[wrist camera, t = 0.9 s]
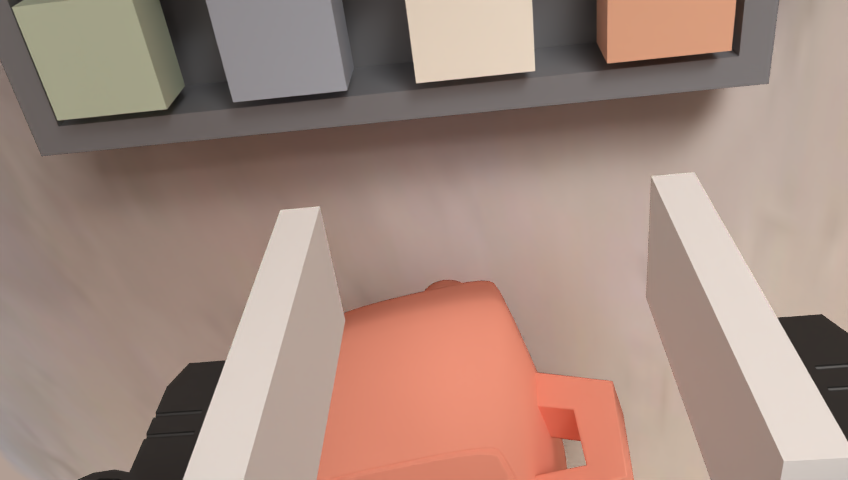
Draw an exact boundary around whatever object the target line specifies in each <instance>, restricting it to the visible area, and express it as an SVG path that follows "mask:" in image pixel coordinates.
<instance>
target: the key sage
mask: <svg viewBox="0 0 848 480" xmlns="http://www.w3.org/2000/svg"><path fill="white" fill-rule="evenodd" d="M12 9H13V12H14V14H15V17H16V19H17V22H18V24H19V27H20V29H21V31H22V34H23V36H24V39H25V41H26V44H27V46H28V49H29V51H30V54H31V56H32V59H33V61H34V64H35V66H36V69H37V71H38V73H39V76H40V78H41V81H42V83H43V86H44V88H45V91H46V93H47V96H48V98H49V101H50V103H51V106H52V108H53V110H54V113H55V115H56V118H57V120H58V121H59V120H68V119H78V118H87V117H97V116H107V115H116V114H126V113H136V112H145V111H155V110H164V109H168V107H169V106H170V105H171V103H172V102H173V101H174V100H175V98H176V97H177V96H178V94H179V93H180V92H181V90H182V89H183V88H184V87H185V84H184V80H183V77H182V74H181V70H180V67H179V64H178V60H177V57H176V54H175V51H174V47H173V44H172V41H171V37H170V34H169V31H168V27H167V24H166V21H165V17H164V14H163V11H162V7H161V4H160V1H159V0H23V1H21V2H19V3H18V4H16V5H15V6H13V7H12Z"/></svg>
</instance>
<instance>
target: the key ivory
mask: <svg viewBox="0 0 848 480" xmlns="http://www.w3.org/2000/svg"><path fill="white" fill-rule="evenodd" d="M405 3H406V10H407V18H408V25H409V33H410V41H411V48H412V56H413V63H414V71H415V79H416V83H425V82H434V81H444V80H453V79H463V78H473V77H482V76H492V75H502V74H511V73H521V72H531V71H535V55H534V32H533V9H532V0H405Z"/></svg>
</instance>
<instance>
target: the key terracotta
mask: <svg viewBox="0 0 848 480" xmlns="http://www.w3.org/2000/svg"><path fill="white" fill-rule="evenodd" d="M735 9H736V0H597V44H598V46H599V48H600V50H601V52H602V54H603V56H604V58H605V60H606V62H607V64H608V63H617V62H627V61H637V60H646V59H656V58H665V57H675V56H685V55H694V54H704V53H714V52H723V51H732V40H733V30H734V20H735Z"/></svg>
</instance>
